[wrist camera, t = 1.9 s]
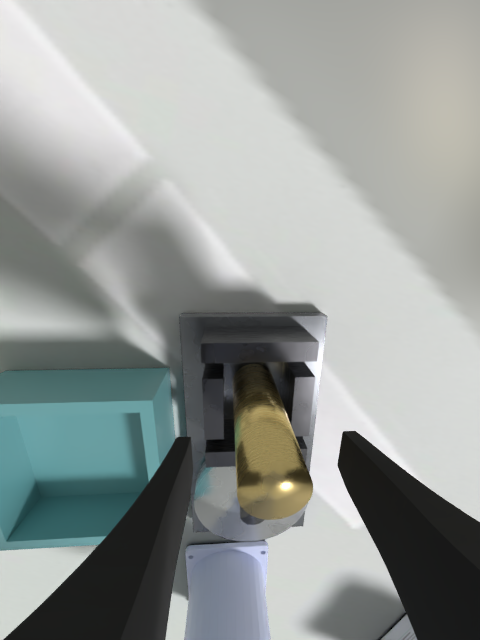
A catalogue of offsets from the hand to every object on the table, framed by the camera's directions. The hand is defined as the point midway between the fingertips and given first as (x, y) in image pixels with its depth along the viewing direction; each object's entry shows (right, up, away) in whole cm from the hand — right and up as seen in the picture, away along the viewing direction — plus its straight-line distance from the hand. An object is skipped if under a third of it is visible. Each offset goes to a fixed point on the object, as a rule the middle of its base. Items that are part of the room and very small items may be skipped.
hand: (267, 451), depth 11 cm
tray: (-12, -3, +8) cm, 15 cm away
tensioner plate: (0, -3, +8) cm, 9 cm away
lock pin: (0, +2, +6) cm, 6 cm away
